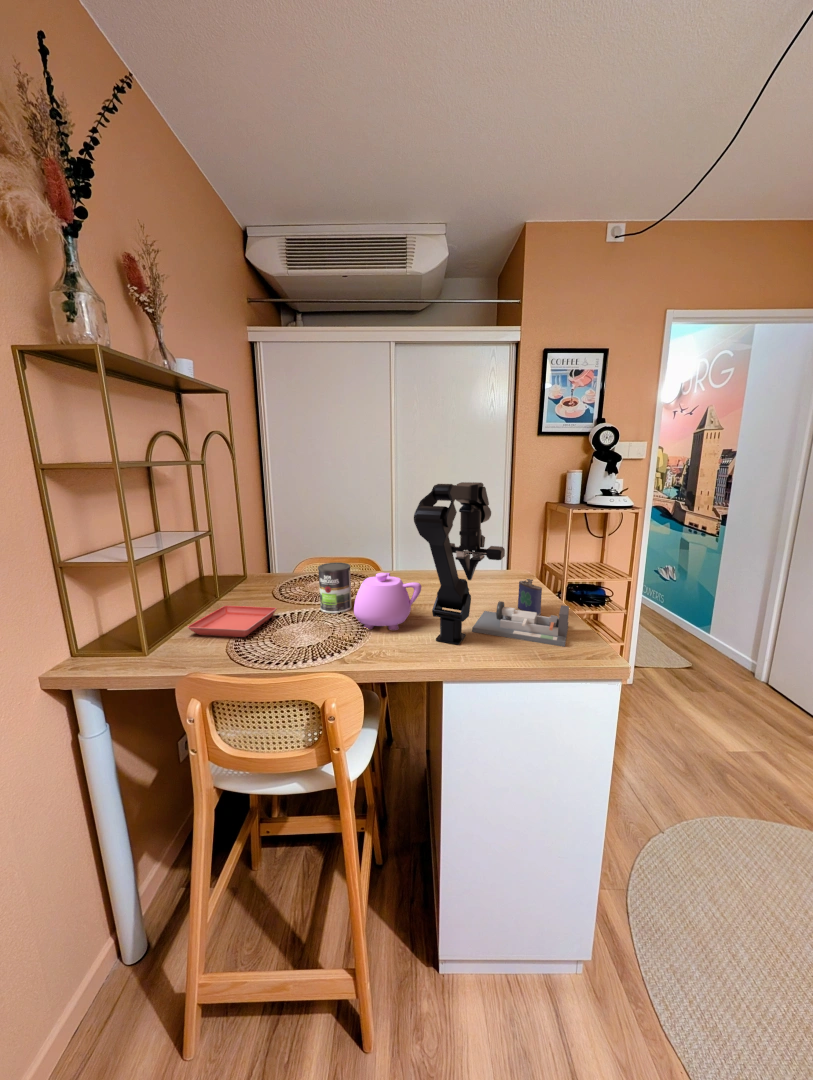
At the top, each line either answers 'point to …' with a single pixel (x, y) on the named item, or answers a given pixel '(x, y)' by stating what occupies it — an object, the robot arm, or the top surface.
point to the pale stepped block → (516, 614)
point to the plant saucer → (232, 621)
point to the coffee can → (335, 587)
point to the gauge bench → (525, 628)
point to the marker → (553, 622)
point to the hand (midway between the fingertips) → (469, 579)
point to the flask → (529, 597)
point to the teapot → (384, 601)
